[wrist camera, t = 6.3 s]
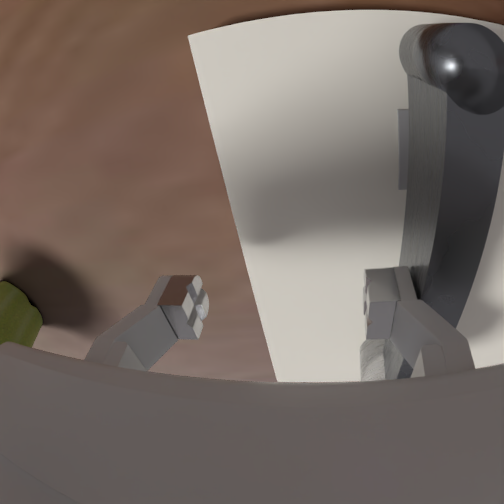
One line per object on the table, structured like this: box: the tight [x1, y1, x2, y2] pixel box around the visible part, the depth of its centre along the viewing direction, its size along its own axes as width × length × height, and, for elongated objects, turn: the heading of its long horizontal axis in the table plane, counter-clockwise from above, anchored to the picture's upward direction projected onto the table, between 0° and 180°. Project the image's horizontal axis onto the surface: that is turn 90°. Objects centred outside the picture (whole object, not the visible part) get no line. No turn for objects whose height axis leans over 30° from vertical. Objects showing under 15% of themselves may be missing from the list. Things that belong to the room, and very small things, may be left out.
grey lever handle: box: [360, 23, 504, 381], centre depth 10 cm, size 17×4×6 cm, turn 10°
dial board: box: [188, 10, 504, 382], centre depth 13 cm, size 20×18×2 cm
